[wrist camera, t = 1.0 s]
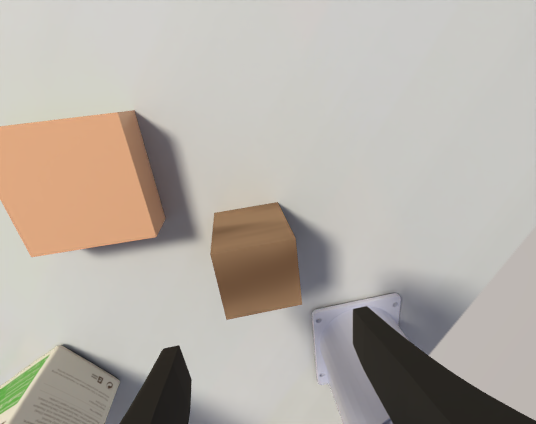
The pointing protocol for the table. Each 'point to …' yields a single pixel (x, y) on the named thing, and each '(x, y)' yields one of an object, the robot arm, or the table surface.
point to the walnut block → (255, 260)
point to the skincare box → (58, 391)
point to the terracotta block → (78, 183)
